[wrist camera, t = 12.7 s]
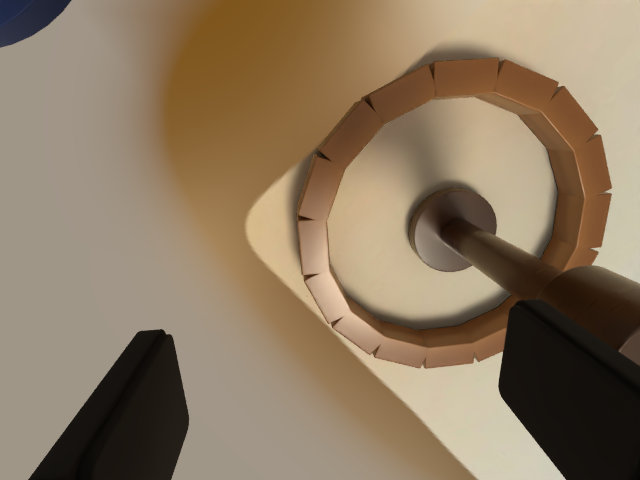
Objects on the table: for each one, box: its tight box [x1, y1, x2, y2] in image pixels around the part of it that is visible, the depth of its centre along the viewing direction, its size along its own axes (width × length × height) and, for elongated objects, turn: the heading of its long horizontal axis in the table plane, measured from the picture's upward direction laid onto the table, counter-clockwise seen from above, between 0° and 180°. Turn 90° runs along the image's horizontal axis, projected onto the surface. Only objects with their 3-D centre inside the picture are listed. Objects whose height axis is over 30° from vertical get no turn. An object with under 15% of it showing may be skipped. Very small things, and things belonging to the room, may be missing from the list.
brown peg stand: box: [409, 188, 640, 366], centre depth 15 cm, size 5×5×13 cm
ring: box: [297, 58, 612, 369], centre depth 20 cm, size 18×18×2 cm
